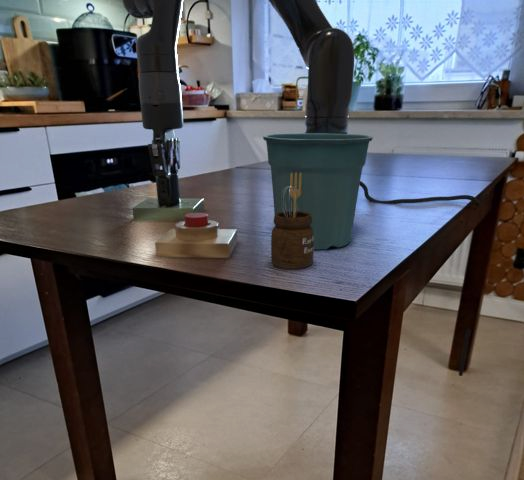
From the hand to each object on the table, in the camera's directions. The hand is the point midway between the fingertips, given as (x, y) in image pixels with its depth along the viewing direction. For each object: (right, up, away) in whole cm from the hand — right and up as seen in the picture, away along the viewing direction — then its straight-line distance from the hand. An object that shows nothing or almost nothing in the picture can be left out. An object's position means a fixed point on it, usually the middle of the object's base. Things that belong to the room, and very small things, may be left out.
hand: (169, 195), depth 103 cm
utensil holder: (+23, -19, -29) cm, 41 cm away
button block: (+8, -15, -22) cm, 28 cm away
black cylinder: (0, -1, +1) cm, 1 cm away
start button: (+8, -12, -23) cm, 27 cm away
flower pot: (+27, -13, -18) cm, 35 cm away
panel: (0, -3, +2) cm, 4 cm away
